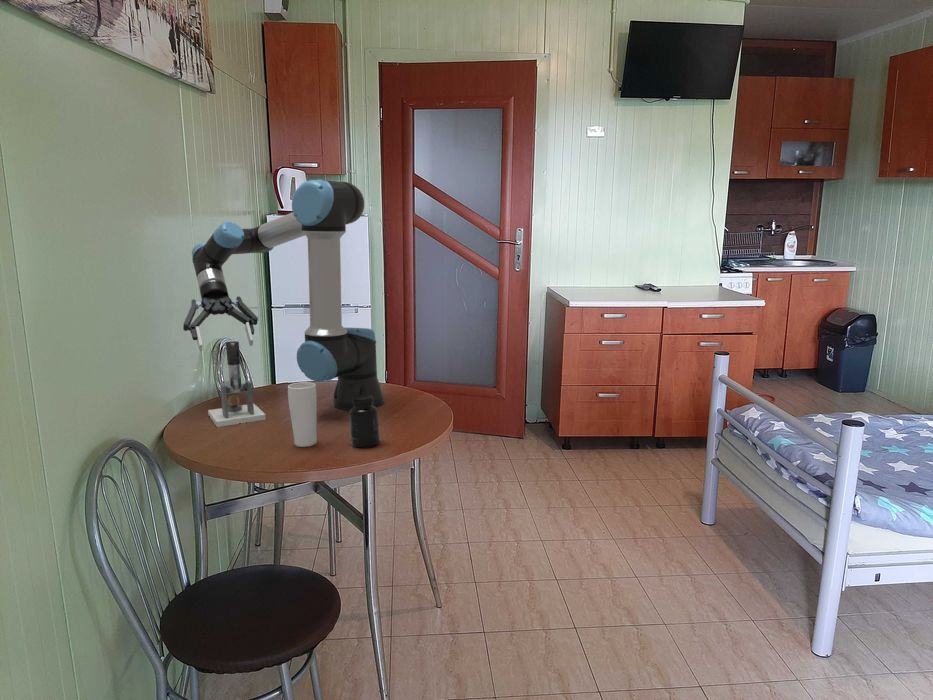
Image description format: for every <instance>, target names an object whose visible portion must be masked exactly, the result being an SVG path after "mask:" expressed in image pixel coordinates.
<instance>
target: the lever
mask: <svg viewBox="0 0 933 700" xmlns="http://www.w3.org/2000/svg"><path fill="white" fill-rule="evenodd" d="M225 350H226V352H225V353H226V363H227V365H228V376H229V377H228V378H229V380H225V381H224V385H225V386H226V392H227V395H228V394H236V393H243V392H246V391H247V387H246V383H245V382H244V383H242V374H241V355H240V354H241V351H240V343H239V341H235V340H233V341H231V340H230V341H227V342H225Z"/></svg>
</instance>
